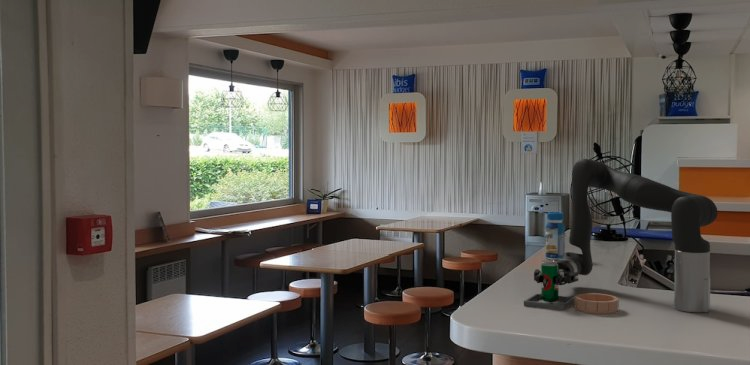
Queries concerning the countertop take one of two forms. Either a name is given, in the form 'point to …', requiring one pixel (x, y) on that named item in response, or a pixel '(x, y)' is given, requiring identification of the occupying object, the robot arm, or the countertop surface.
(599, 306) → the bowl
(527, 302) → the tray
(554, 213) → the beverage bottle
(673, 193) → the robot arm
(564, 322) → the countertop surface
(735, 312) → the countertop surface
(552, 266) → the soda can
